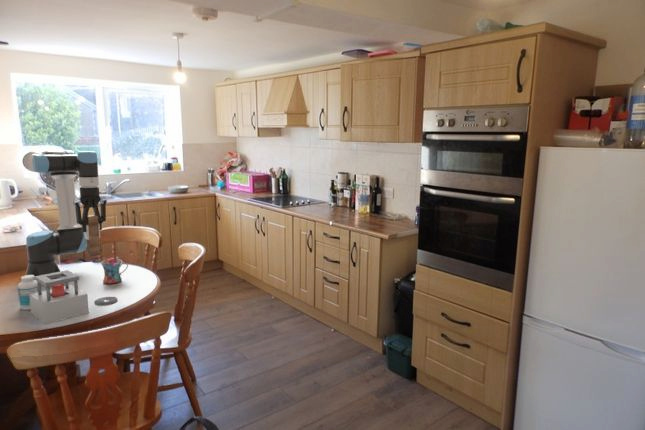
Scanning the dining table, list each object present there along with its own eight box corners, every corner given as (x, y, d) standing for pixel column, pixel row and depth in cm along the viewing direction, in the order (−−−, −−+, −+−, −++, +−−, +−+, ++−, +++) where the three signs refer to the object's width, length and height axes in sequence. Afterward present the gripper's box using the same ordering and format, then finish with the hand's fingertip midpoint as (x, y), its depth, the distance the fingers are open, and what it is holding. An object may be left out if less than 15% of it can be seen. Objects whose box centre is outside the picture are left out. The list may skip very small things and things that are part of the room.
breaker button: (51, 303, 175) (49, 284, 173) (63, 300, 178) (61, 282, 176) (55, 306, 172) (53, 287, 170) (67, 303, 175) (65, 284, 174)
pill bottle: (26, 303, 184) (23, 273, 181) (45, 303, 184) (42, 273, 182) (16, 310, 176) (12, 279, 174) (35, 310, 177) (32, 279, 175)
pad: (91, 301, 188) (91, 300, 188) (111, 296, 195) (111, 295, 195) (99, 307, 182) (99, 305, 182) (121, 301, 189) (121, 300, 189)
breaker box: (30, 312, 174) (27, 276, 172) (73, 302, 187) (70, 268, 184) (44, 324, 164) (41, 285, 162) (88, 312, 176) (86, 276, 174)
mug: (102, 285, 208) (100, 264, 206) (102, 280, 216) (100, 259, 214) (129, 282, 214) (128, 262, 212) (128, 277, 222) (127, 257, 220)
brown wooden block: (87, 254, 194) (84, 215, 190) (96, 252, 197) (94, 214, 193) (91, 256, 191) (88, 216, 188) (100, 254, 194) (97, 215, 191)
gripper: (71, 188, 180) (75, 242, 184) (112, 186, 192) (115, 236, 197) (64, 187, 184) (68, 239, 188) (105, 184, 197) (108, 234, 201)
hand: (92, 238), depth 193 cm, fingers closed on brown wooden block, 4 cm apart
